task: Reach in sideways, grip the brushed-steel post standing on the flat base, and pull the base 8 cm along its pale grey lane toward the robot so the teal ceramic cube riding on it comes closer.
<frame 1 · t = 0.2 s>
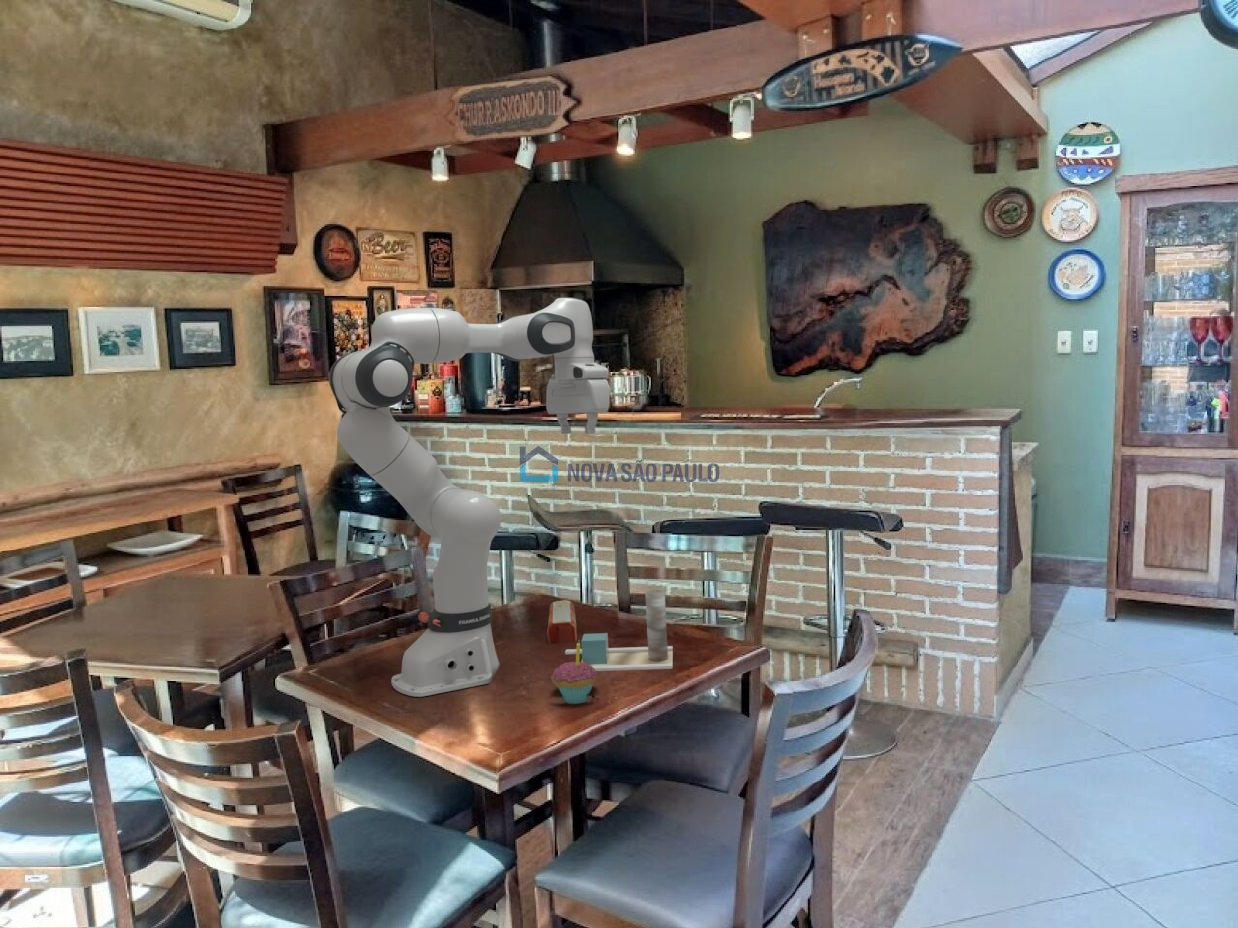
hand: (577, 433, 203), 48 cm above the table, tool pointing down, fingers open, 8 cm apart
snack package: (562, 637, 214), on the table
cube: (595, 660, 189), point 1 cm above the table, touching post on flat base
cupcake: (575, 700, 172), on the table
lane: (620, 666, 189), on the table
post on flat base: (625, 629, 188), point 8 cm above the table, slide at 0.0 cm, touching cube
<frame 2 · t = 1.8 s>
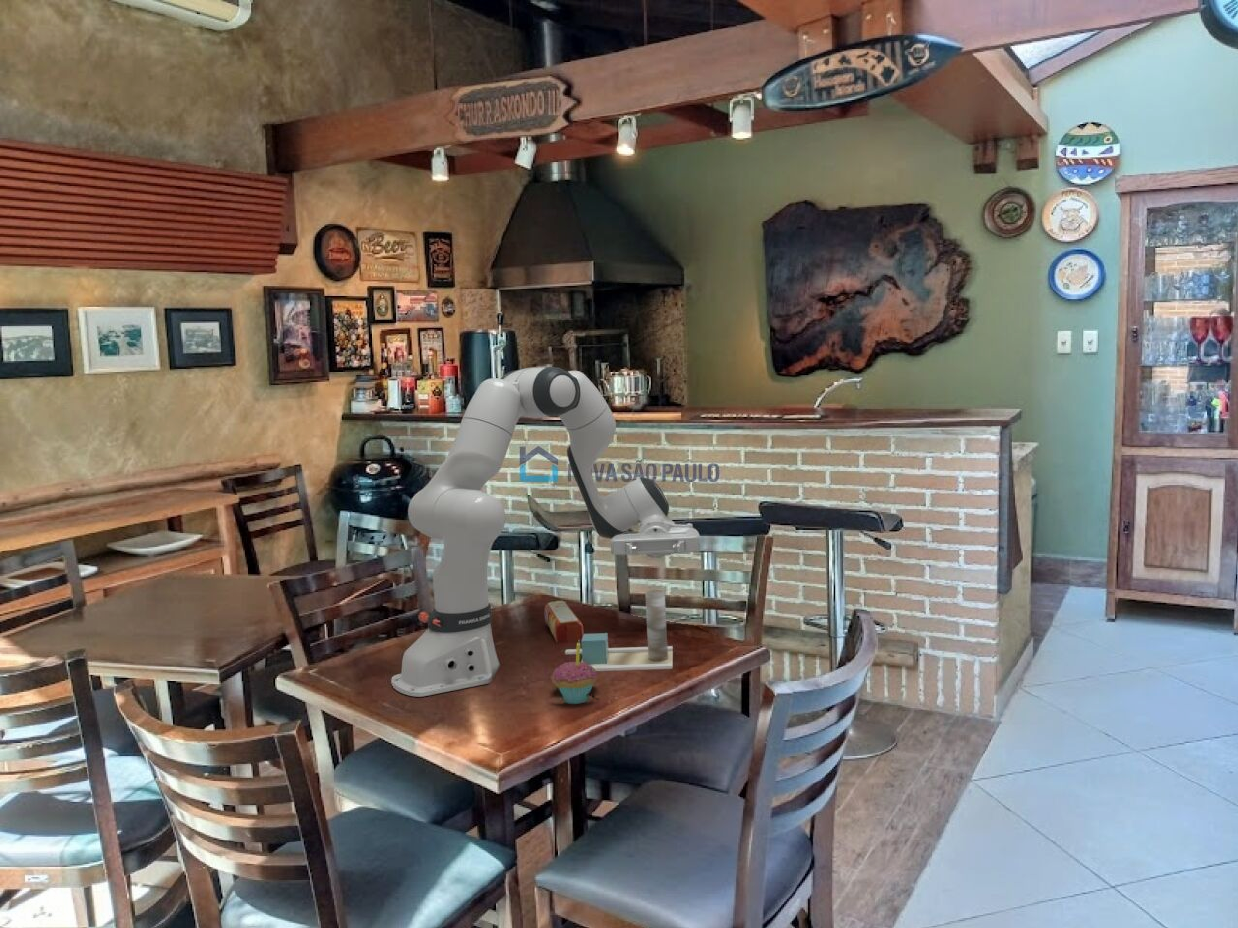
hand: (654, 550, 198), 22 cm above the table, tool horizontal, fingers open, 8 cm apart
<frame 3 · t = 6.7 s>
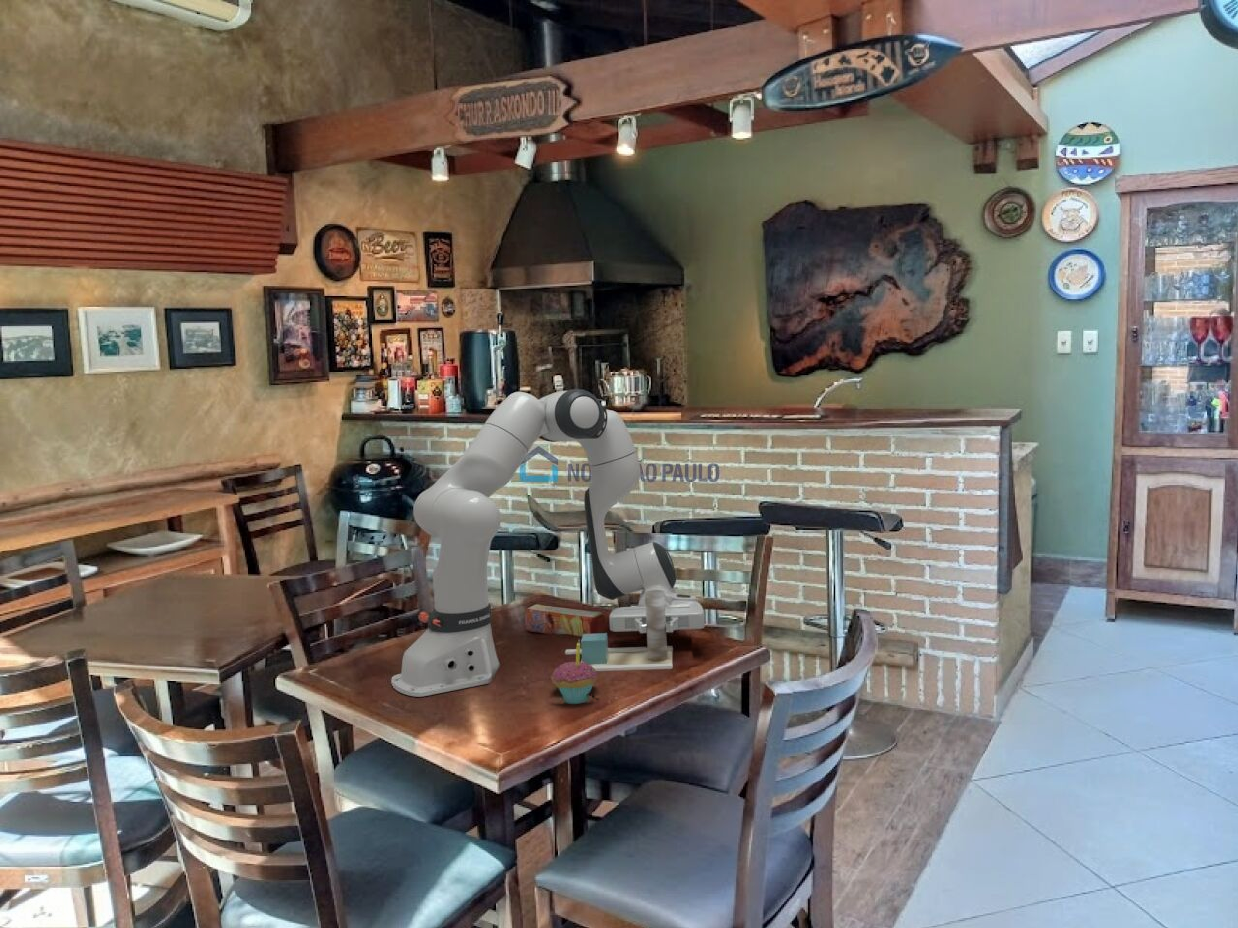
hand: (656, 629, 187), 8 cm above the table, tool horizontal, fingers closed on post on flat base, 4 cm apart
post on flat base: (624, 629, 188), point 8 cm above the table, slide at 0.1 cm, touching cube, gripper
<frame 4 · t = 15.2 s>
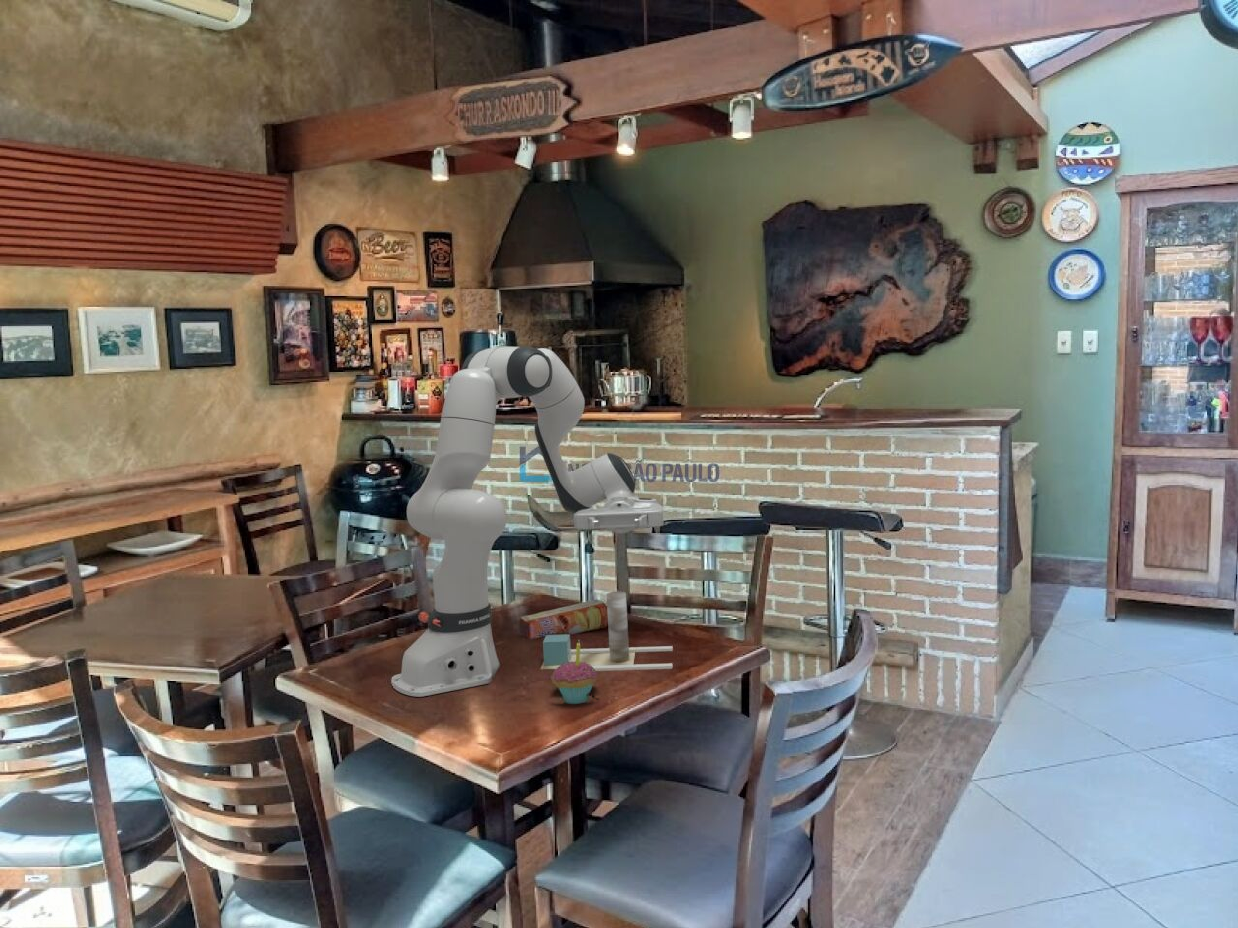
hand: (616, 523, 198), 28 cm above the table, tool horizontal, fingers open, 8 cm apart
cube: (557, 661, 190), point 1 cm above the table, touching post on flat base
post on flat base: (586, 630, 189), point 8 cm above the table, slide at 8.0 cm, touching cube
at the end: post on flat base slide at 8.0 cm; cube inside the target area (0.1 cm from its centre), point 1.5 cm above the table; cube tilted 0° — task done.
